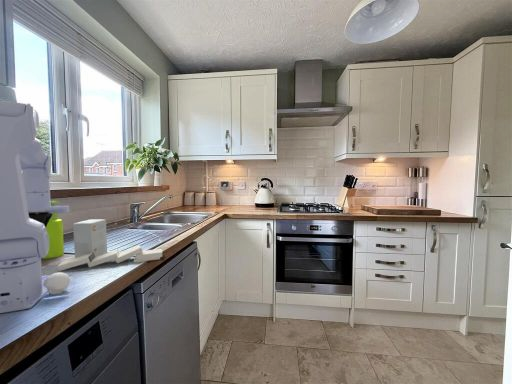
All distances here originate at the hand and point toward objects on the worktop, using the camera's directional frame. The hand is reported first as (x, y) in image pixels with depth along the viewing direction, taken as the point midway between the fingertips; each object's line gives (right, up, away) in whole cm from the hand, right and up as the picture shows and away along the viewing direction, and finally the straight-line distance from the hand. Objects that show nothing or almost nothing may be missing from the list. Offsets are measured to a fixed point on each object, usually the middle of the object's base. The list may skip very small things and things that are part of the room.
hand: (39, 237), depth 69 cm
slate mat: (+11, -10, +5) cm, 16 cm away
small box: (+5, -10, +14) cm, 18 cm away
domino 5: (+23, -10, +10) cm, 27 cm away
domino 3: (+18, -9, +8) cm, 22 cm away
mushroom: (+16, -11, -12) cm, 23 cm away
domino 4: (+24, -8, +10) cm, 27 cm away
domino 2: (+11, -9, +5) cm, 15 cm away
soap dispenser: (-9, -10, +15) cm, 20 cm away
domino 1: (+5, -9, +2) cm, 10 cm away
